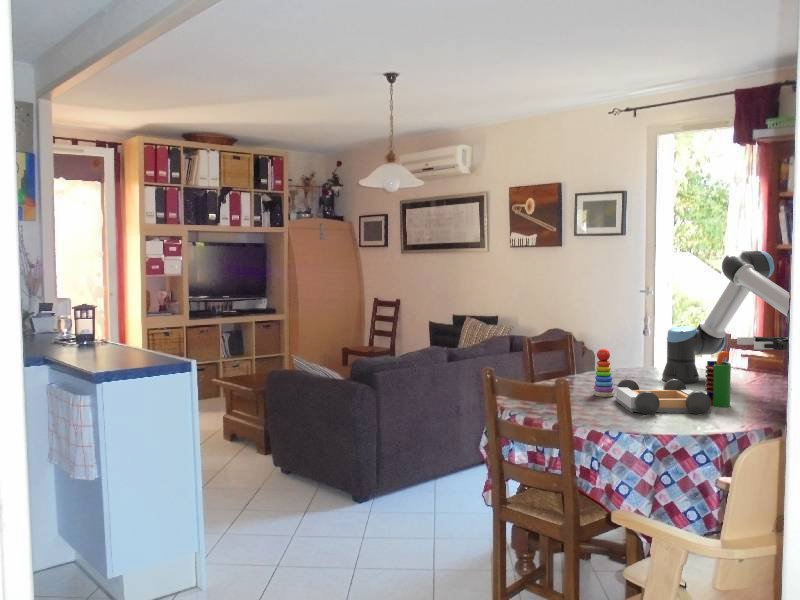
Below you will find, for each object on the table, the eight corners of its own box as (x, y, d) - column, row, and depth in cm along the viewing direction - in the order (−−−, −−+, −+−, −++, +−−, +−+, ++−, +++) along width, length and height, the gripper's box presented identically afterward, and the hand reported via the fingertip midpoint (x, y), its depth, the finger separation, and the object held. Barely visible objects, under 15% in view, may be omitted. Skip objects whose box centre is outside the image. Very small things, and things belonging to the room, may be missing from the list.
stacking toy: (614, 394, 288) (615, 347, 286) (613, 398, 280) (614, 350, 279) (594, 392, 290) (594, 347, 289) (592, 396, 283) (593, 349, 281)
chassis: (613, 399, 278) (614, 378, 277) (686, 399, 277) (687, 378, 276) (633, 414, 252) (634, 392, 252) (713, 414, 252) (714, 392, 251)
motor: (698, 401, 273) (699, 349, 271) (721, 401, 274) (722, 349, 272) (712, 407, 263) (713, 353, 261) (735, 407, 264) (737, 353, 262)
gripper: (822, 357, 253) (761, 358, 254) (785, 348, 278) (730, 348, 279) (822, 336, 253) (762, 337, 253) (786, 329, 278) (731, 329, 278)
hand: (745, 343), depth 266 cm, fingers open, 13 cm apart
